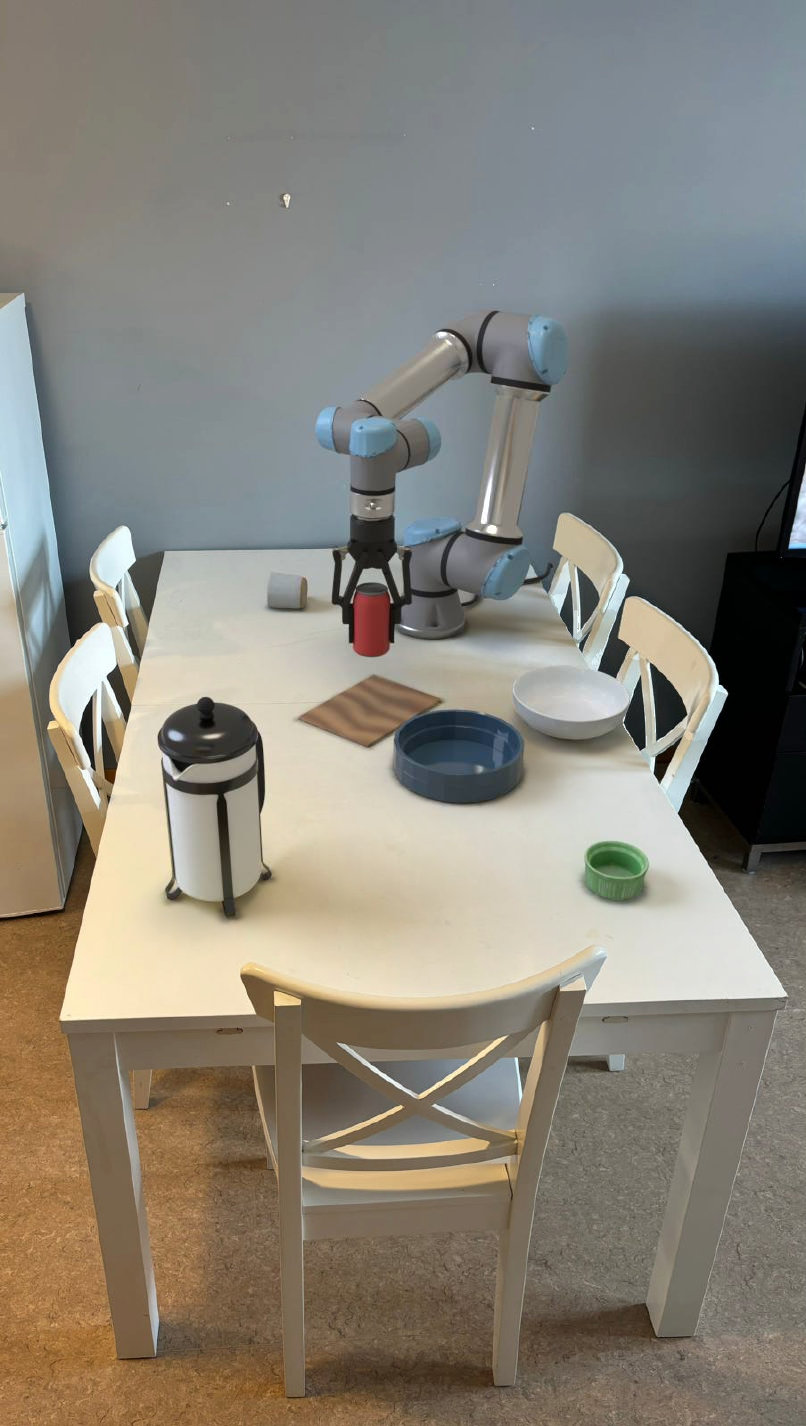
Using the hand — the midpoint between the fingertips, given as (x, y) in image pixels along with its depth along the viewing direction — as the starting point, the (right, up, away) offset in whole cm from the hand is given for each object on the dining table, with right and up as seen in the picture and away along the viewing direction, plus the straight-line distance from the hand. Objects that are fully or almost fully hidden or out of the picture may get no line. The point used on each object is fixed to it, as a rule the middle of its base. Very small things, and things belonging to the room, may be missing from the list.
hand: (371, 639), depth 191 cm
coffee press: (-20, -37, -38) cm, 57 cm away
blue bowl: (+15, -22, -11) cm, 29 cm away
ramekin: (+36, -37, -37) cm, 64 cm away
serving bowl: (+35, -15, +4) cm, 39 cm away
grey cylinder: (-20, +11, +49) cm, 54 cm away
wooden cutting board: (0, -12, +7) cm, 14 cm away
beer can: (0, -2, +1) cm, 2 cm away
